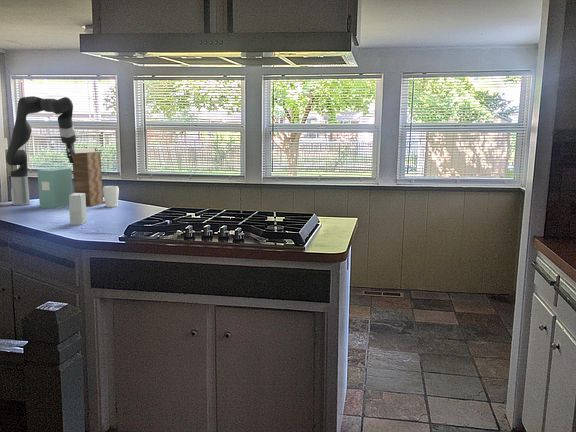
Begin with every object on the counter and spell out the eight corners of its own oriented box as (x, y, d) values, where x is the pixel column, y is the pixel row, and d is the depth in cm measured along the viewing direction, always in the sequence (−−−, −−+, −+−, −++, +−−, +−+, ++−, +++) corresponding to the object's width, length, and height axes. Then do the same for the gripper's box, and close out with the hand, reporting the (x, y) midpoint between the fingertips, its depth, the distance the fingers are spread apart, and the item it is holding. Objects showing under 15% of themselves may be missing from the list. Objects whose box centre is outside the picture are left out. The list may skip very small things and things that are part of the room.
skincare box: (75, 222, 262) (73, 192, 259) (87, 222, 262) (85, 192, 260) (69, 225, 254) (67, 194, 251) (82, 225, 254) (80, 194, 252)
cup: (103, 205, 317) (102, 186, 315) (118, 204, 321) (117, 185, 319) (104, 207, 309) (103, 187, 307) (120, 206, 313) (119, 187, 311)
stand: (90, 206, 312) (87, 153, 307) (72, 206, 315) (69, 152, 309) (105, 203, 328) (102, 151, 322) (88, 202, 330) (85, 151, 325)
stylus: (72, 153, 301) (72, 149, 301) (69, 153, 302) (68, 149, 301) (96, 151, 324) (96, 147, 324) (93, 151, 325) (93, 147, 324)
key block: (54, 208, 306) (51, 170, 302) (39, 207, 308) (36, 170, 305) (73, 204, 324) (71, 168, 320) (59, 203, 326) (57, 168, 322)
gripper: (61, 127, 287) (66, 152, 297) (58, 140, 277) (64, 165, 287) (75, 126, 289) (80, 151, 299) (73, 139, 278) (78, 165, 289)
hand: (72, 158), depth 293 cm, fingers open, 8 cm apart
